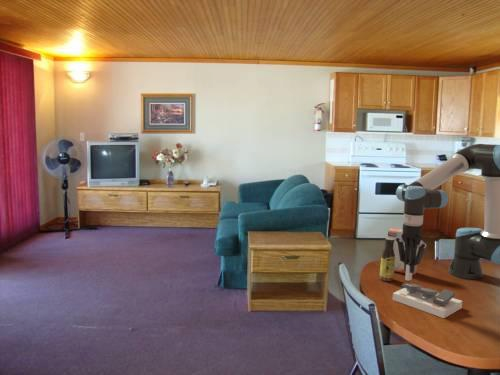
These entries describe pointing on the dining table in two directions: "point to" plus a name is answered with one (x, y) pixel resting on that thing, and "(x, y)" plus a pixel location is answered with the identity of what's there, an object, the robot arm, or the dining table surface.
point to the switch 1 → (411, 286)
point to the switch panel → (426, 302)
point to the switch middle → (427, 291)
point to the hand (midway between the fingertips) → (408, 279)
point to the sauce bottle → (387, 261)
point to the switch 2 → (443, 297)
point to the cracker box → (398, 264)
